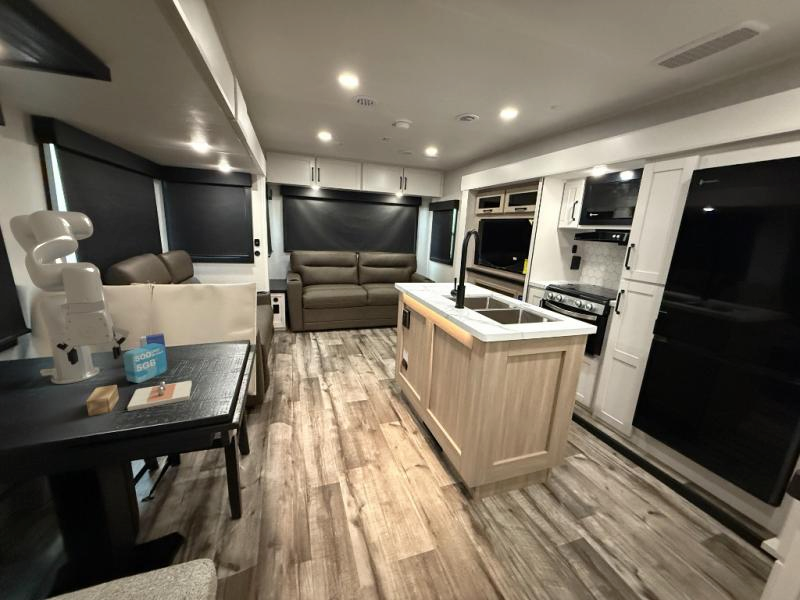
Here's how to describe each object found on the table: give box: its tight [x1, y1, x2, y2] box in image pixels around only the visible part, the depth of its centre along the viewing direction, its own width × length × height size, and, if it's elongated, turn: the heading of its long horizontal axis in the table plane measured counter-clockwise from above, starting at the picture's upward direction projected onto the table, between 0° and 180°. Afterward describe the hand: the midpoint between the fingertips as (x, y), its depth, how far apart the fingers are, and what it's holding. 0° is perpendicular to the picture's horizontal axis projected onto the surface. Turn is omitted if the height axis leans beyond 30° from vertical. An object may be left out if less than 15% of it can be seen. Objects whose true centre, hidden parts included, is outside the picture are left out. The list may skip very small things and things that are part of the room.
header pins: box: [158, 380, 166, 396], centre depth 105 cm, size 1×5×3 cm, turn 30°
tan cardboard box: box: [85, 384, 120, 417], centre depth 98 cm, size 5×9×5 cm, turn 30°
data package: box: [122, 343, 168, 384], centre depth 117 cm, size 12×4×12 cm, turn 165°
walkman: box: [139, 332, 168, 361], centre depth 130 cm, size 8×3×12 cm, turn 132°
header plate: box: [126, 380, 193, 412], centre depth 106 cm, size 16×12×2 cm
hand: (96, 360), depth 94 cm, fingers open, 9 cm apart
